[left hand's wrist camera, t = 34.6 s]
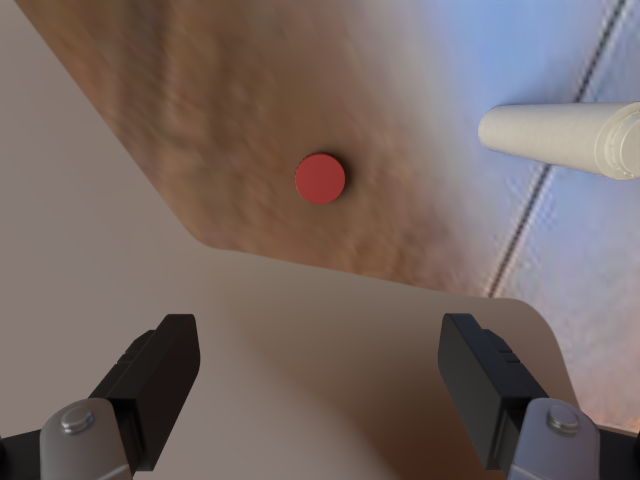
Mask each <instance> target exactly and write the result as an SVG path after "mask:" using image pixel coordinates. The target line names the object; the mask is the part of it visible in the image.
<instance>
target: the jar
mask: <svg viewBox="0 0 640 480" xmlns="http://www.w3.org/2000/svg"><path fill="white" fill-rule="evenodd" d="M478 136H479V140H480V142H481V143H482V145H483V146H484V147H485V148H487V149H489V150H491V151H495V152H500V153H504V154H508V155H513V156H517V157H521V158H525V159H530V160H534V161H538V162H543V163H547V164H551V165H555V166H560V167H564V168H568V169H572V170H577V171H581V172H585V173H590V174H594V175H598V176H602V177H607V178H611V179H615V180H631V179H635V178H638V177H640V101H625V102H591V103H557V104H523V105H500V106H497V107H494V108H492V109H491V110H489V111H488V112H487V113H486V114H485V115H484V116H483V118H482V120H481V122H480V124H479V128H478Z"/></svg>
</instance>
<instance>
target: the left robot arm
mask: <svg viewBox="0 0 640 480" xmlns="http://www.w3.org/2000/svg"><path fill="white" fill-rule="evenodd" d="M438 365H439V370H440V373H441V376H442V378H443V380H444V382H445V384H446V387H447V389H448V391H449V393H450V395H451V398H452V400H453V402H454V404H455V406H456V408H457V411H458V413H459V415H460V417H461V419H462V421H463V424H464V426H465V428H466V430H467V432H468V435H469V437H470V439H471V441H472V443H473V446H474V448H475V450H476V452H477V454H478V456H479V459H480V461H481V463H482V465H483V467H484V470H502V472H503V474H504V476H505V478H506V480H640V431H639V434H638V436H637V438H636V437H631V436H627V435H623V434H619V433H615V432H611V431H607V430H602V429H598V428H597V426H596V425H595V423H594V422H593V421H592V420H591V419H590V418H589V417H588V416H587V415H586V414H585V413H583V412H582V411H580V410H579V409H577V408H576V407H574V406H572V405H570V404H568V403H565V402H563V401H560V400H556V399H552V398H550V397H549V396H548V395H547V394H546V392H545V391H544V390H543V389H542V387H541V386H540V385H539V384H538V382H537V381H536V380H535V379H534V377H533V376H532V375H531V374H530V372H529V371H528V370H527V369H526V367H525V366H524V365H523V364H522V363H520V360H519V359H518V357H517V356H516V355H515V354H514V353H512V350H511V349H510V347H509V346H508V345H507V344H506V342H505V341H504V340H503V339H502V338H500V337H499V336H497V335H496V334H495V333H493V332H492V331H490V330H489V329H482V328H481V327H480V325H479V324H478V323H477V321H476V320H475V319H474V317H473V316H472V315H471V314H469V313H446V314H445V315H444V317H443V321H442V328H441V336H440V343H439V350H438ZM199 367H200V349H199V342H198V335H197V328H196V321H195V317H194V315H193V314H168V315H167V316H166V317H165V318H164V319H163V321H162V322H161V323H160V325H159V326H158V327H157V329H156V330H149V331H147V332H146V333H144V334H143V335H141V336H140V337H138V338H137V339H135V340H134V341H133V343H132V344H131V345H130V346H129V348H128V349H127V350H126V351H125V354H123V355H122V356H121V358H120V359H119V360H118V361H117V364H115V365H114V366H113V368H112V369H111V370H110V371H109V372H108V374H107V375H106V376H105V377H104V379H103V380H102V381H101V382H100V384H99V385H98V386H97V387H96V389H95V390H94V391H93V392H92V393H91V395H90V396H89V397H88V398H87V399H84V400H80V401H77V402H74V403H72V404H70V405H68V406H66V407H64V408H63V409H61V410H60V411H58V412H57V413H55V414H54V415H53V416H52V417H51V418H50V419H49V420H48V421H47V422H46V423H45V425H44V426H43V428H42V429H40V430H36V431H32V432H28V433H24V434H19V435H15V436H11V437H7V438H3V439H1V436H0V480H133V479H132V478H133V476H134V474H135V472H136V471H153V469H154V467H155V465H156V463H157V461H158V459H159V457H160V454H161V452H162V450H163V448H164V446H165V444H166V442H167V439H168V437H169V435H170V433H171V431H172V429H173V426H174V424H175V422H176V420H177V418H178V416H179V413H180V411H181V409H182V407H183V405H184V403H185V401H186V398H187V396H188V394H189V392H190V390H191V388H192V385H193V383H194V381H195V379H196V377H197V374H198V371H199Z"/></svg>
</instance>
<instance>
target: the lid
mask: <svg viewBox="0 0 640 480" xmlns="http://www.w3.org/2000/svg"><path fill="white" fill-rule="evenodd" d="M343 169H344V168H343V167H342V166H341V163H339V161H338V159H336V158H334V157H333V155H332V156H331V155H329V154H328V153H327V154H326V153H323V152H322V153H318V152H317V153H315V154H313V153H312V154H311V155H309V156H307V157H306V158H305V159H303V161H302V162H301V163H299V167H297V172H296V173H295V174H296V177H295V182H296V187H297V190H298V191H299V193H300V194H301V196H302V197H303V198H305V199H306V200H307V201H309V202H312V203H315V204H325V203H329V202H331V201H333V200H335V199H336V198H337V197H338V196H339V195H340V194H341V192H342V190H343V188H344V185H345V180H346V178H345V172H344V170H343Z"/></svg>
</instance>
